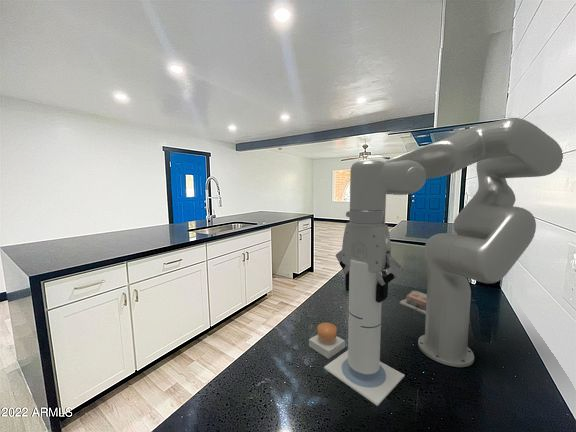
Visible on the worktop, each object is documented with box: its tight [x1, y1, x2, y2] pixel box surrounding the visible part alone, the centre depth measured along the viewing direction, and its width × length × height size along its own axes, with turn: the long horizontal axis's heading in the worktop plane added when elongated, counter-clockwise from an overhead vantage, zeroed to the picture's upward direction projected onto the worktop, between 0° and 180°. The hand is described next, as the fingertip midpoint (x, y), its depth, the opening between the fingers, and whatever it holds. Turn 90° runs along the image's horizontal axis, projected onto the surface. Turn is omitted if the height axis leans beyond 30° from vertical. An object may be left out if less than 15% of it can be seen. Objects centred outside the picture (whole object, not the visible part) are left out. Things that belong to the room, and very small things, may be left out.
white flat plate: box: [323, 349, 405, 407], centre depth 58 cm, size 12×14×1 cm
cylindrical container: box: [347, 260, 383, 374], centre depth 57 cm, size 7×7×25 cm
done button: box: [316, 322, 338, 340], centre depth 67 cm, size 5×5×2 cm
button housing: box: [308, 333, 346, 360], centre depth 68 cm, size 7×7×2 cm
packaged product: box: [398, 290, 427, 316], centre depth 88 cm, size 18×5×10 cm
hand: (365, 294), depth 56 cm, fingers closed on cylindrical container, 7 cm apart
